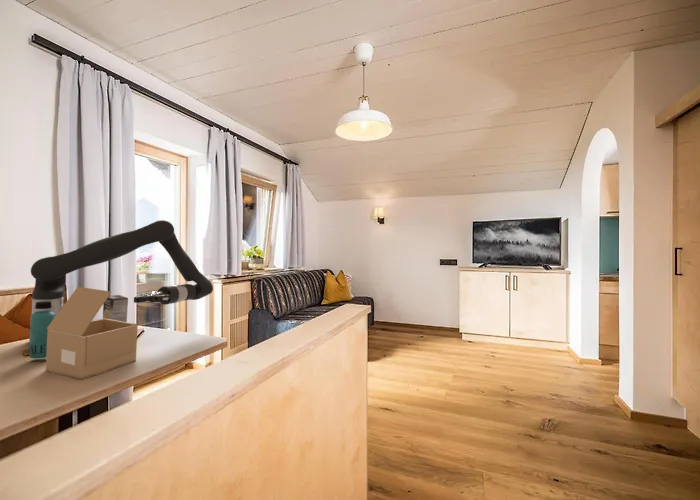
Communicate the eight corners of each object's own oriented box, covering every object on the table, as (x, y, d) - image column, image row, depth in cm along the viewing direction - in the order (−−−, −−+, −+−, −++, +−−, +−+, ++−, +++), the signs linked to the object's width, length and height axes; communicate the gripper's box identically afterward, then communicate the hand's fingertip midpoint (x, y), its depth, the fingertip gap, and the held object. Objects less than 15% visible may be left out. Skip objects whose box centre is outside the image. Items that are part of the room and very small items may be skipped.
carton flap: (47, 329, 106) (46, 328, 106) (78, 287, 114) (77, 286, 114) (81, 336, 102) (79, 335, 101) (111, 292, 110) (110, 291, 109)
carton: (44, 370, 107) (46, 329, 107) (103, 353, 125) (104, 318, 124) (81, 380, 102) (83, 337, 102) (137, 361, 119) (139, 324, 119)
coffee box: (101, 332, 149) (102, 296, 149) (117, 329, 155) (119, 294, 154) (110, 336, 145) (112, 299, 144) (127, 333, 150) (128, 297, 150)
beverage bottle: (53, 355, 120) (55, 299, 119) (54, 360, 115) (57, 302, 115) (27, 359, 115) (30, 300, 115) (28, 364, 111) (30, 304, 110)
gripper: (161, 283, 145) (122, 288, 128) (185, 286, 141) (149, 291, 124) (160, 301, 145) (121, 307, 128) (184, 304, 141) (148, 312, 124)
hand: (135, 300), depth 126 cm, fingers closed
